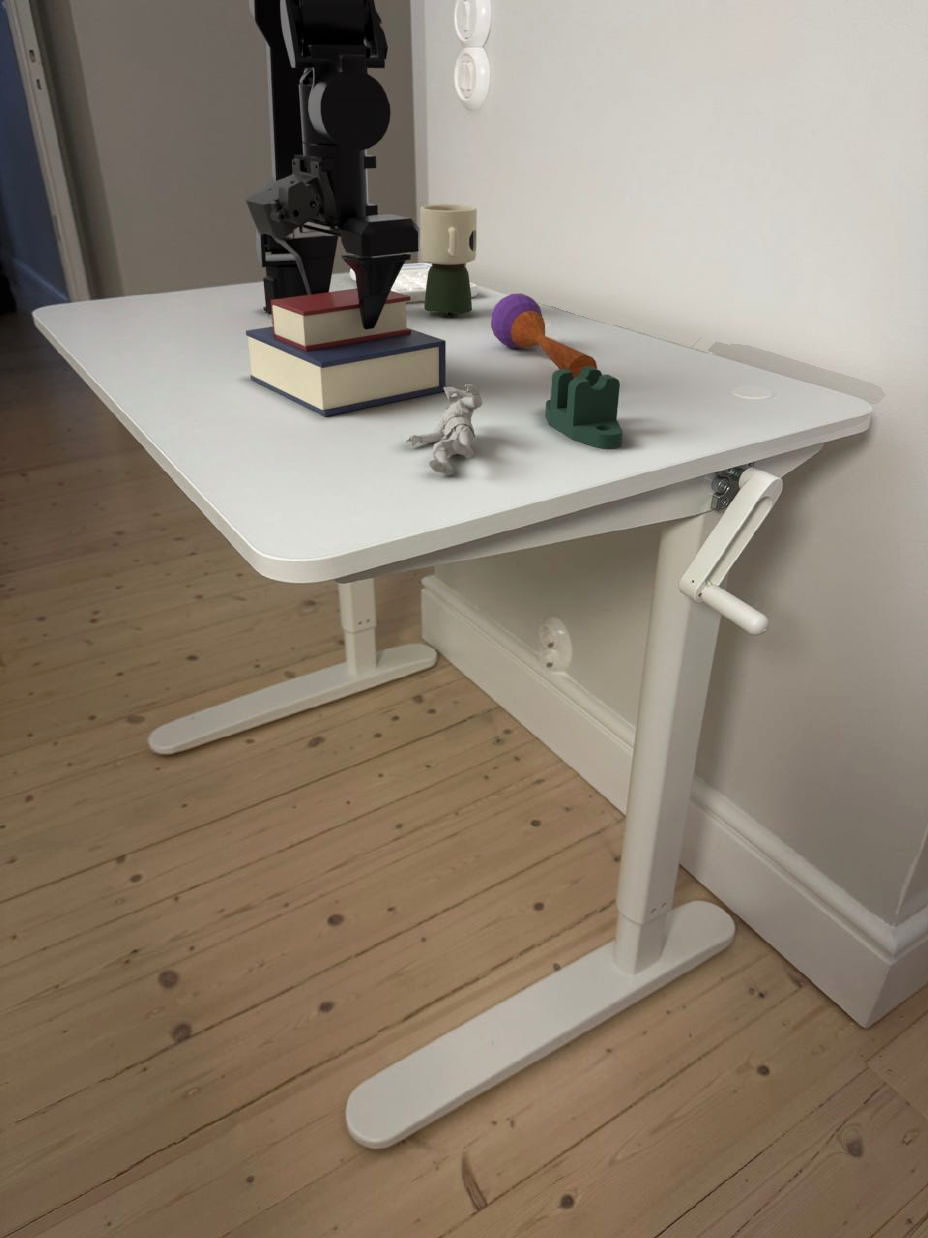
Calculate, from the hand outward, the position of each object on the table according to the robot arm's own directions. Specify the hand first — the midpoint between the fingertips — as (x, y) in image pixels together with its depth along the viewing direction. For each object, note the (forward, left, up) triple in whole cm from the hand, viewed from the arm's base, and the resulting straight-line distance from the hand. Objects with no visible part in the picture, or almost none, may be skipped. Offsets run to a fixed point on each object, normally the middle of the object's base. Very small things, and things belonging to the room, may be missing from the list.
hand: (343, 319), depth 94 cm
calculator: (-34, -37, -7) cm, 51 cm away
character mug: (-28, -20, -7) cm, 35 cm away
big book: (0, 0, -6) cm, 6 cm away
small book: (0, 0, -2) cm, 2 cm away
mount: (-10, +24, -7) cm, 27 cm away
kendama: (-22, +5, -7) cm, 24 cm away
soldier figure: (+3, +22, -7) cm, 23 cm away
